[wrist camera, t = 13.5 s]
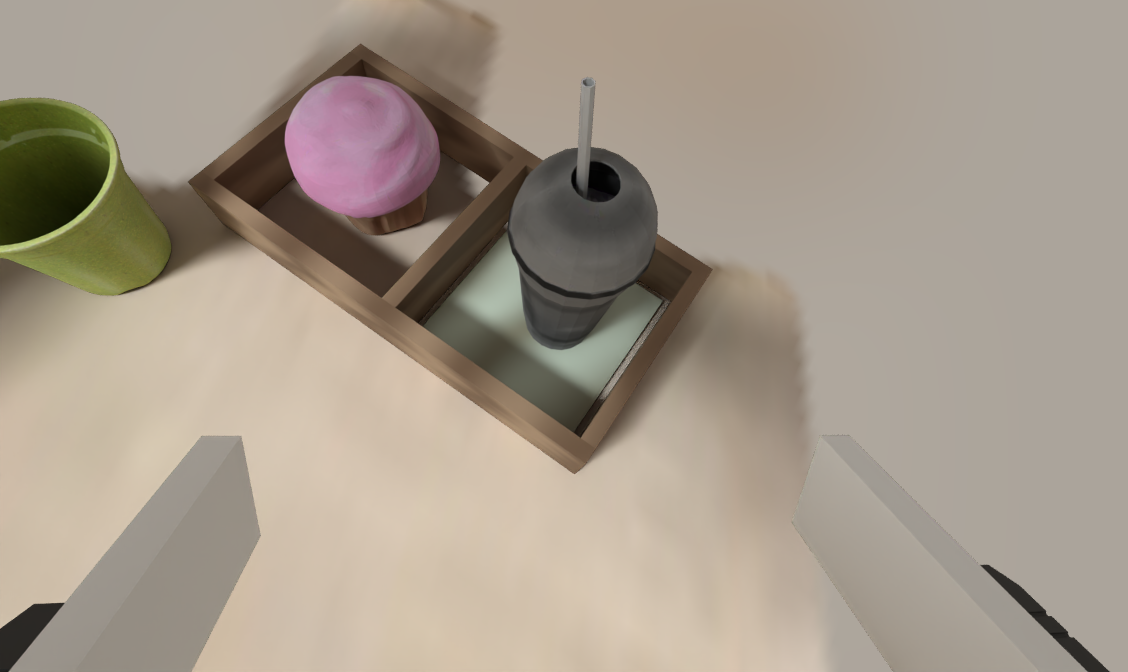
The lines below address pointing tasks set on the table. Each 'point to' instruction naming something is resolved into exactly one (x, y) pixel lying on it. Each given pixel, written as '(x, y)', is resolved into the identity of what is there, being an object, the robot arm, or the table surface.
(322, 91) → the cupcake
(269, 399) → the table surface
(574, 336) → the beverage cup
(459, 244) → the tray
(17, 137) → the plant pot
